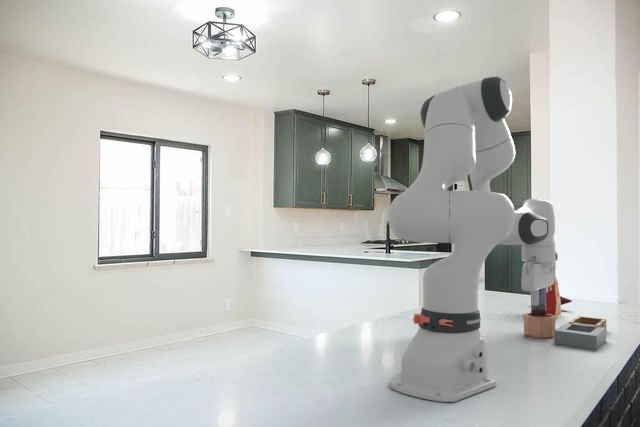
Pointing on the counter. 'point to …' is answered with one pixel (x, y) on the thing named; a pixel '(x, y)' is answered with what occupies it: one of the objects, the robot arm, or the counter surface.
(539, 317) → the cup
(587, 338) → the grey rectangular frame box
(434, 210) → the robot arm
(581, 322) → the trough
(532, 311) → the cell
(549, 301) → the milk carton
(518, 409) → the counter surface
